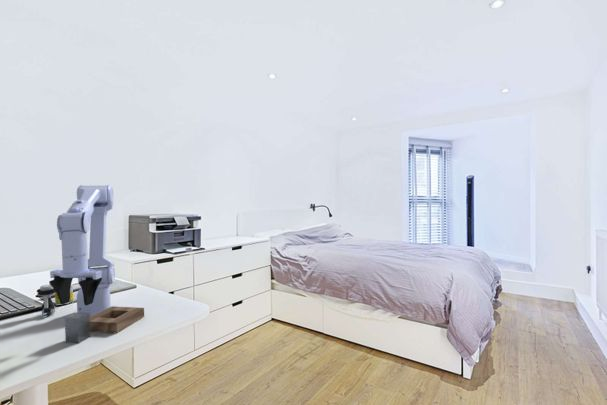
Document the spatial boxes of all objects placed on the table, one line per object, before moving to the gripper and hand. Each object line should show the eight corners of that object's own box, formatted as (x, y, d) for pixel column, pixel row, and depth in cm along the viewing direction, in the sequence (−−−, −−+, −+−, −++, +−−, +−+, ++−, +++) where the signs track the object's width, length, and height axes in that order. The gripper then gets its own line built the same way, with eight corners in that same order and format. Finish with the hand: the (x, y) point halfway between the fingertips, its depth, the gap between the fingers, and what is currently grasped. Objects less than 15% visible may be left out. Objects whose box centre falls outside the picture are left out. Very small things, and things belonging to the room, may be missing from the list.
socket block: (81, 330, 92) (80, 321, 92) (112, 315, 104) (111, 306, 104) (117, 333, 91) (116, 323, 90) (144, 316, 102) (143, 307, 102)
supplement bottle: (76, 300, 120) (75, 275, 119) (68, 305, 114) (67, 279, 114) (60, 301, 118) (59, 276, 118) (52, 306, 113) (51, 280, 113)
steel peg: (65, 342, 85) (64, 317, 85) (78, 336, 89) (77, 312, 89) (78, 343, 85) (77, 318, 84) (90, 336, 88) (89, 312, 88)
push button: (53, 317, 103) (52, 288, 102) (33, 320, 101) (32, 290, 100) (60, 310, 109) (59, 282, 108) (41, 313, 107) (40, 284, 106)
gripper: (38, 257, 83) (40, 307, 84) (85, 258, 81) (87, 310, 81) (62, 252, 90) (64, 298, 91) (106, 253, 88) (108, 300, 88)
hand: (76, 303), depth 86 cm, fingers open, 7 cm apart
